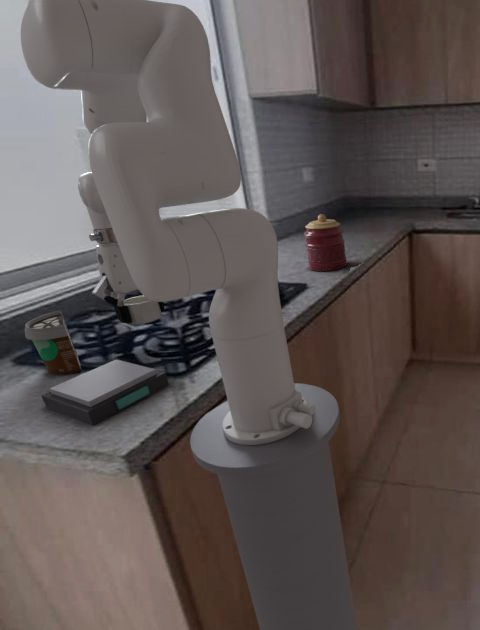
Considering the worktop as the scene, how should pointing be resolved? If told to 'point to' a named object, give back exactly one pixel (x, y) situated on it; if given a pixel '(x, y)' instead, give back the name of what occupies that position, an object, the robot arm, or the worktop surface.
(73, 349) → the food container
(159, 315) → the bowl
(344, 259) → the kitchen canister
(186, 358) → the worktop surface
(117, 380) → the scale
